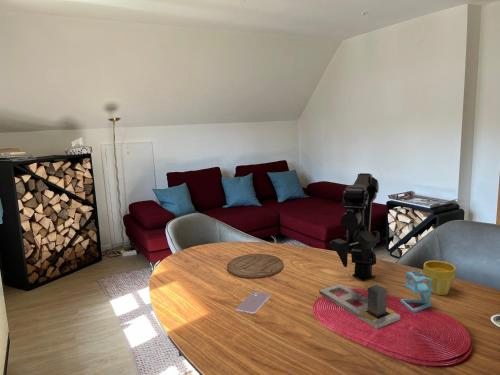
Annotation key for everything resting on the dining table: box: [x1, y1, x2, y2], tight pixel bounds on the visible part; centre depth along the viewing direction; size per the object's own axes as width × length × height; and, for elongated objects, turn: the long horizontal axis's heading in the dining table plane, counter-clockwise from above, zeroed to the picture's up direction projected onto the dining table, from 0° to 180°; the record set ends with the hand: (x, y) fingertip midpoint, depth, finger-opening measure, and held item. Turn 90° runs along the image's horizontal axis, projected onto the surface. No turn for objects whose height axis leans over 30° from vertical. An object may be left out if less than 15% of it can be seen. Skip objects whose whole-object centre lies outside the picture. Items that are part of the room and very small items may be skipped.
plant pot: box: [422, 260, 457, 296], centre depth 137 cm, size 10×10×10 cm
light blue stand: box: [400, 270, 433, 313], centre depth 127 cm, size 8×8×12 cm
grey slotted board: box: [318, 283, 401, 330], centre depth 130 cm, size 10×28×2 cm, turn 28°
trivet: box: [226, 253, 284, 280], centre depth 168 cm, size 25×25×2 cm
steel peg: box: [367, 284, 387, 319], centre depth 121 cm, size 4×4×10 cm
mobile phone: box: [235, 290, 271, 315], centre depth 136 cm, size 8×1×15 cm
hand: (355, 264), depth 135 cm, fingers open, 9 cm apart
